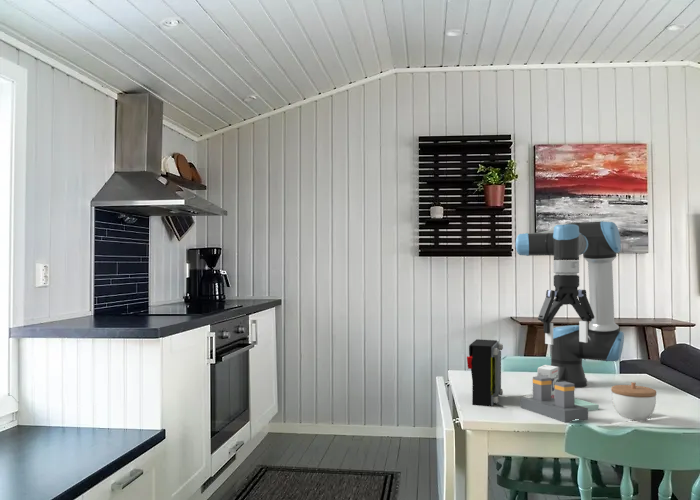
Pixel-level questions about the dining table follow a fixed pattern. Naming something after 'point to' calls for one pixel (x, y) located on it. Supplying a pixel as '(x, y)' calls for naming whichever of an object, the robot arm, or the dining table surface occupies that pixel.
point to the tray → (586, 404)
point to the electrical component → (485, 371)
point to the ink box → (549, 375)
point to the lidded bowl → (633, 401)
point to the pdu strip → (550, 403)
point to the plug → (564, 394)
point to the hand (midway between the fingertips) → (566, 343)
